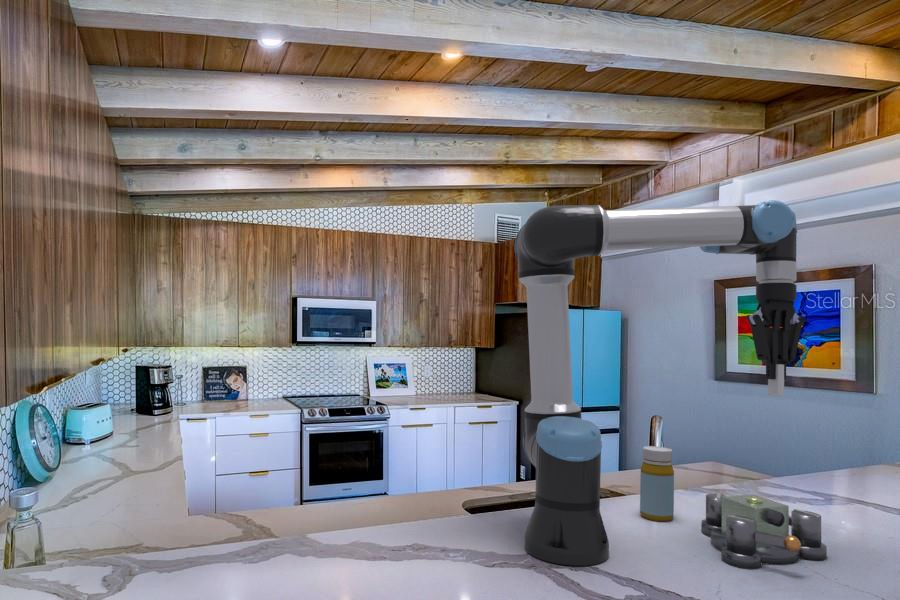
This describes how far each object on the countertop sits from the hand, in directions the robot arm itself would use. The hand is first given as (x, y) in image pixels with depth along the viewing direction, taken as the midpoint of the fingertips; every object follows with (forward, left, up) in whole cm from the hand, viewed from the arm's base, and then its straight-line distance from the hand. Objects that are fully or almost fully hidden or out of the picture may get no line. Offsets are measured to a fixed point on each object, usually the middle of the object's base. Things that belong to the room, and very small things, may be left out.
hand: (776, 395), depth 123 cm
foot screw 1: (-9, +6, -26) cm, 28 cm away
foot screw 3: (-5, -7, -26) cm, 28 cm away
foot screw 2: (-18, -13, -26) cm, 35 cm away
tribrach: (-12, -4, -28) cm, 31 cm away
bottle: (-17, +16, -29) cm, 37 cm away
